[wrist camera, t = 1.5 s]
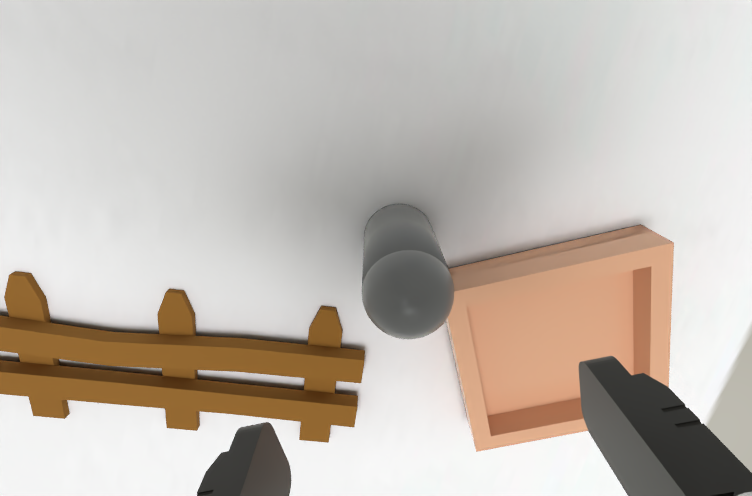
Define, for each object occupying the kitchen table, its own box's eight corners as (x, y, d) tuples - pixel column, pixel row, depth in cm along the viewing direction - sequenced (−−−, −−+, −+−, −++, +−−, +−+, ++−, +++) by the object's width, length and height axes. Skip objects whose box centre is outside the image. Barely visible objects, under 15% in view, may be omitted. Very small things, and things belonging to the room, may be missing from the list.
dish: (435, 271, 22) (442, 294, 20) (641, 224, 21) (673, 242, 19) (467, 418, 26) (476, 451, 24) (640, 384, 25) (667, 415, 23)
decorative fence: (350, 432, 28) (370, 305, 24) (349, 456, 26) (370, 324, 22) (-40, 396, 26) (-86, 254, 22) (-70, 419, 24) (-127, 270, 20)
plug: (356, 213, 21) (348, 284, 14) (424, 196, 21) (453, 260, 13) (373, 274, 22) (374, 367, 15) (438, 259, 22) (470, 347, 15)
